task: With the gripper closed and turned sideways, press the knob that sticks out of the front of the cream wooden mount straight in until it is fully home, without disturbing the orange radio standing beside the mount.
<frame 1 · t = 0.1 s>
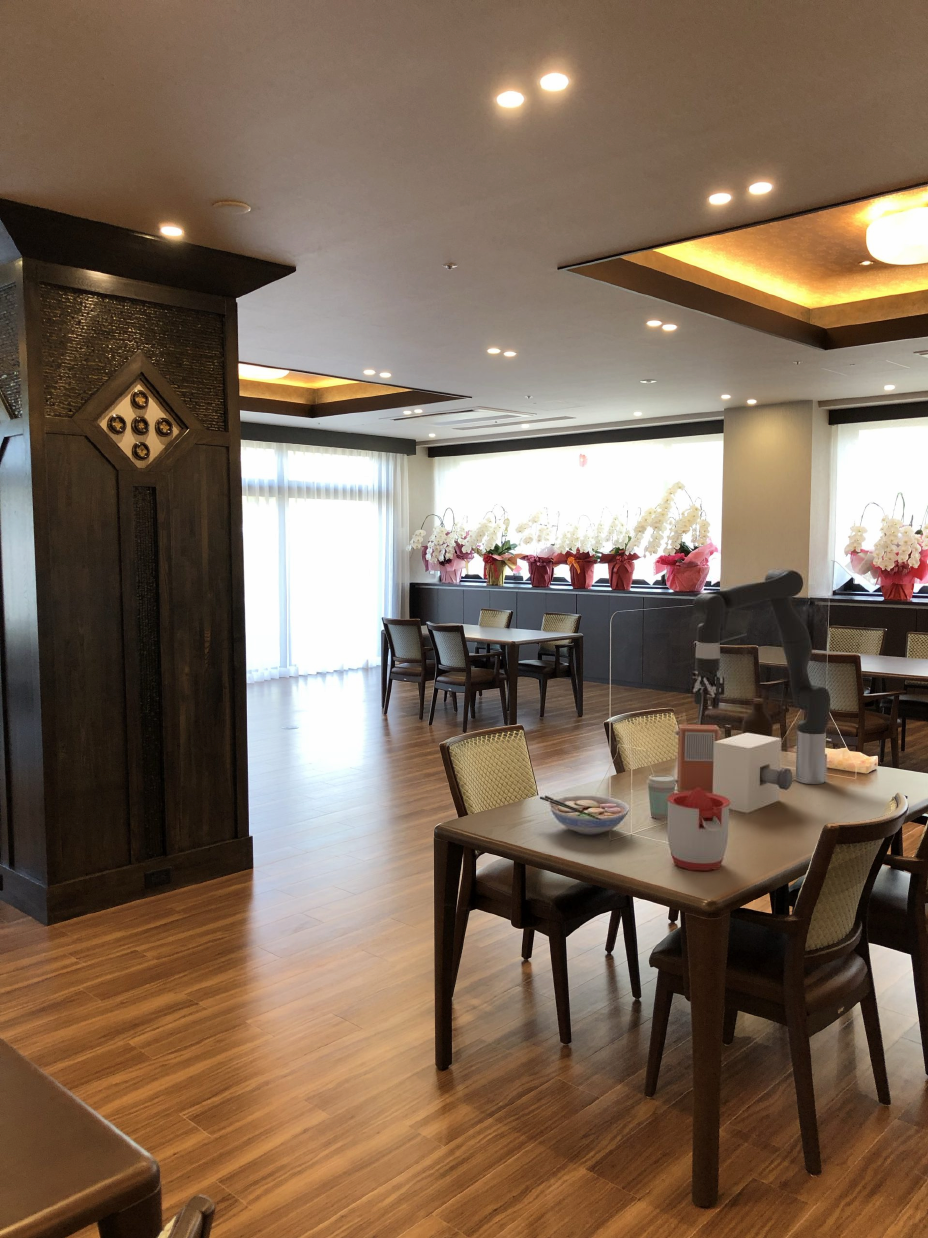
hand: (706, 706, 302), 29 cm above the table, tool pointing down, fingers open, 8 cm apart
olive oil: (756, 767, 343), on the table
ramen bowl: (588, 832, 267), on the table
orange radio: (697, 790, 311), on the table
citrus juicer: (698, 866, 240), on the table
knob: (773, 776, 289), point 10 cm above the table, slide at 4.0 cm
knob mount: (746, 802, 297), on the table
coffee cup: (660, 817, 281), on the table
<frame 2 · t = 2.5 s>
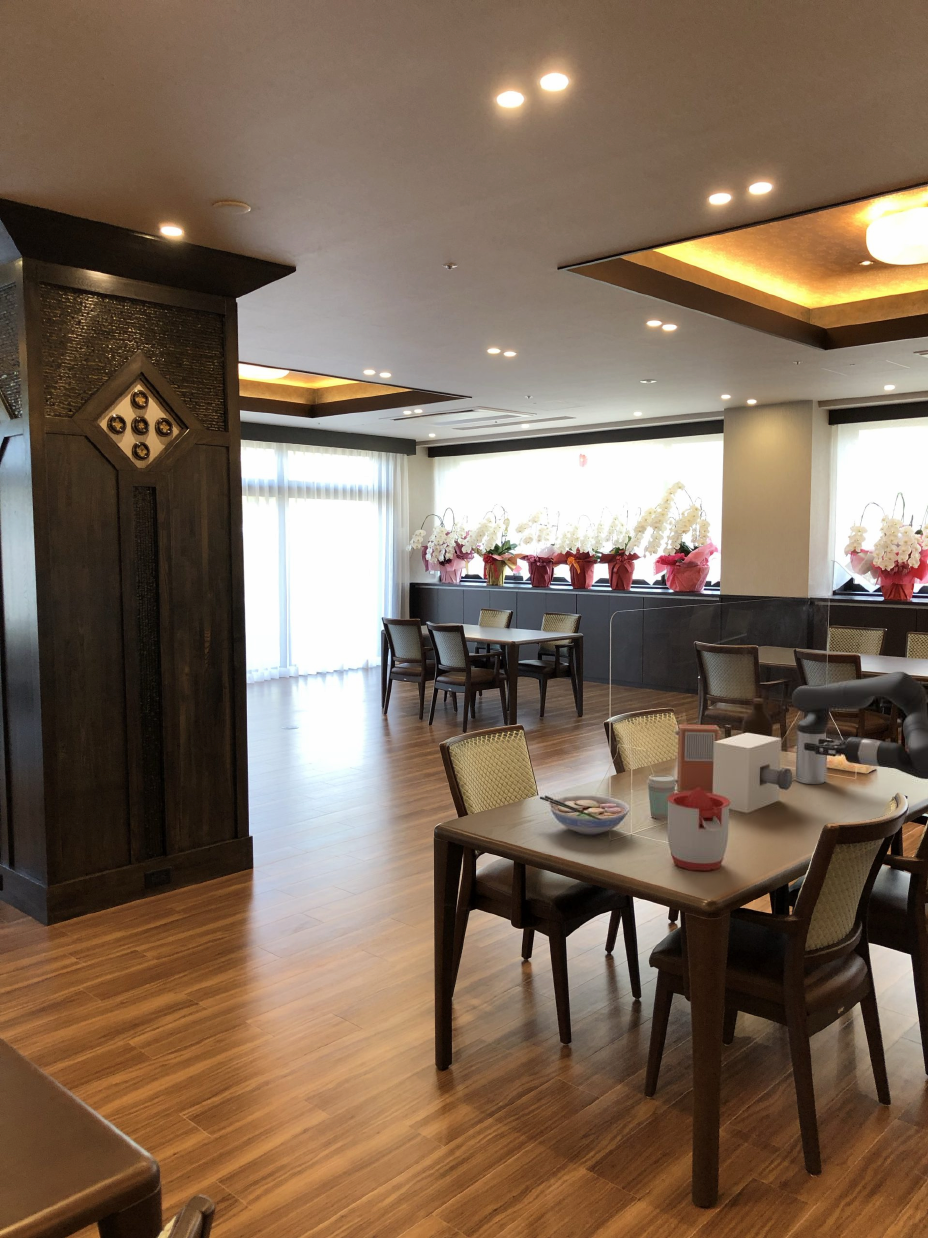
hand: (811, 744, 279), 22 cm above the table, tool horizontal, fingers open, 8 cm apart
nothing on the table moved.
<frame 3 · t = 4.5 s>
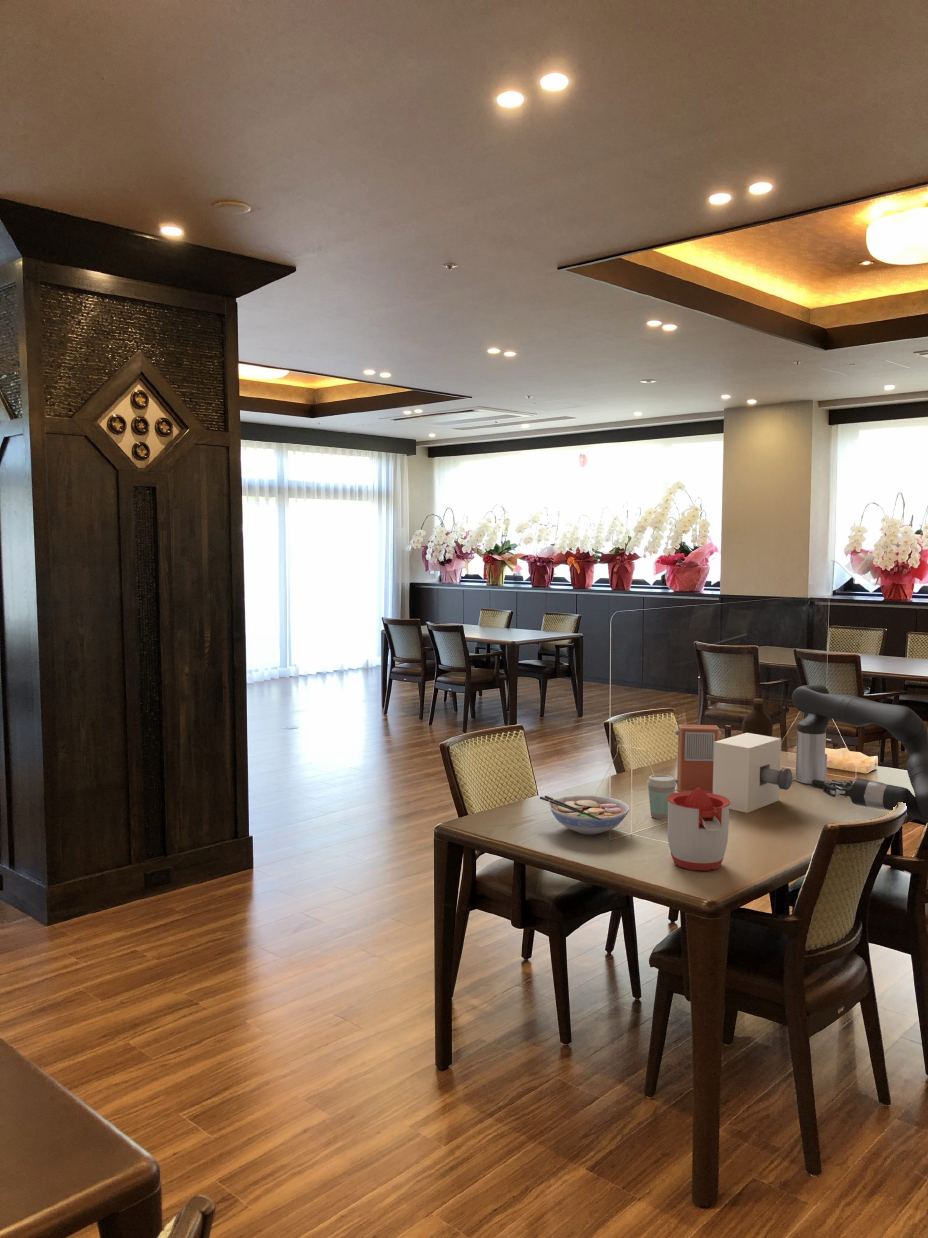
hand: (813, 783, 280), 11 cm above the table, tool horizontal, fingers closed
nothing on the table moved.
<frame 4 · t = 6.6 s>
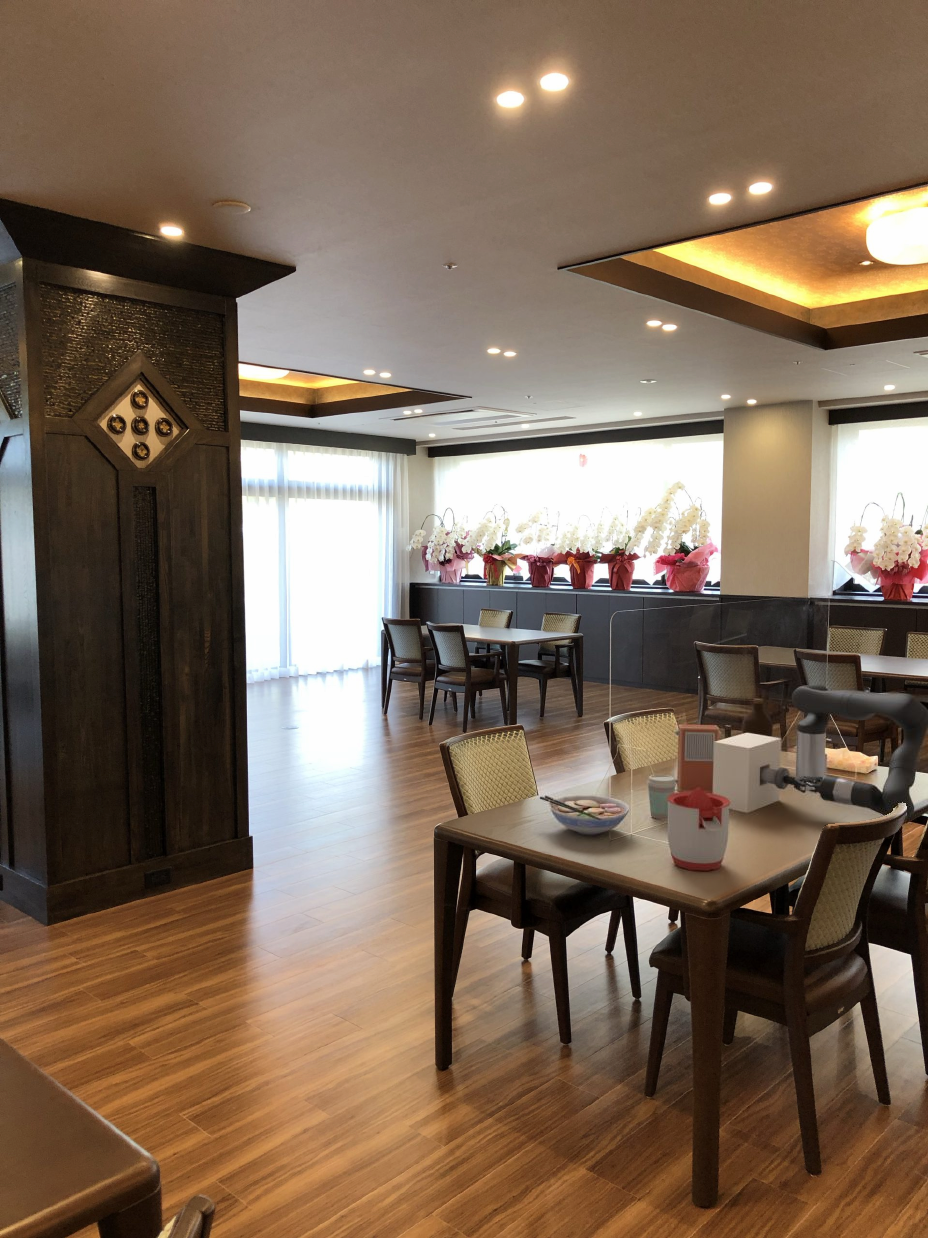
hand: (784, 779, 287), 10 cm above the table, tool horizontal, fingers closed
knob: (770, 776, 290), point 10 cm above the table, slide at 3.0 cm, touching gripper
everything else where it was.
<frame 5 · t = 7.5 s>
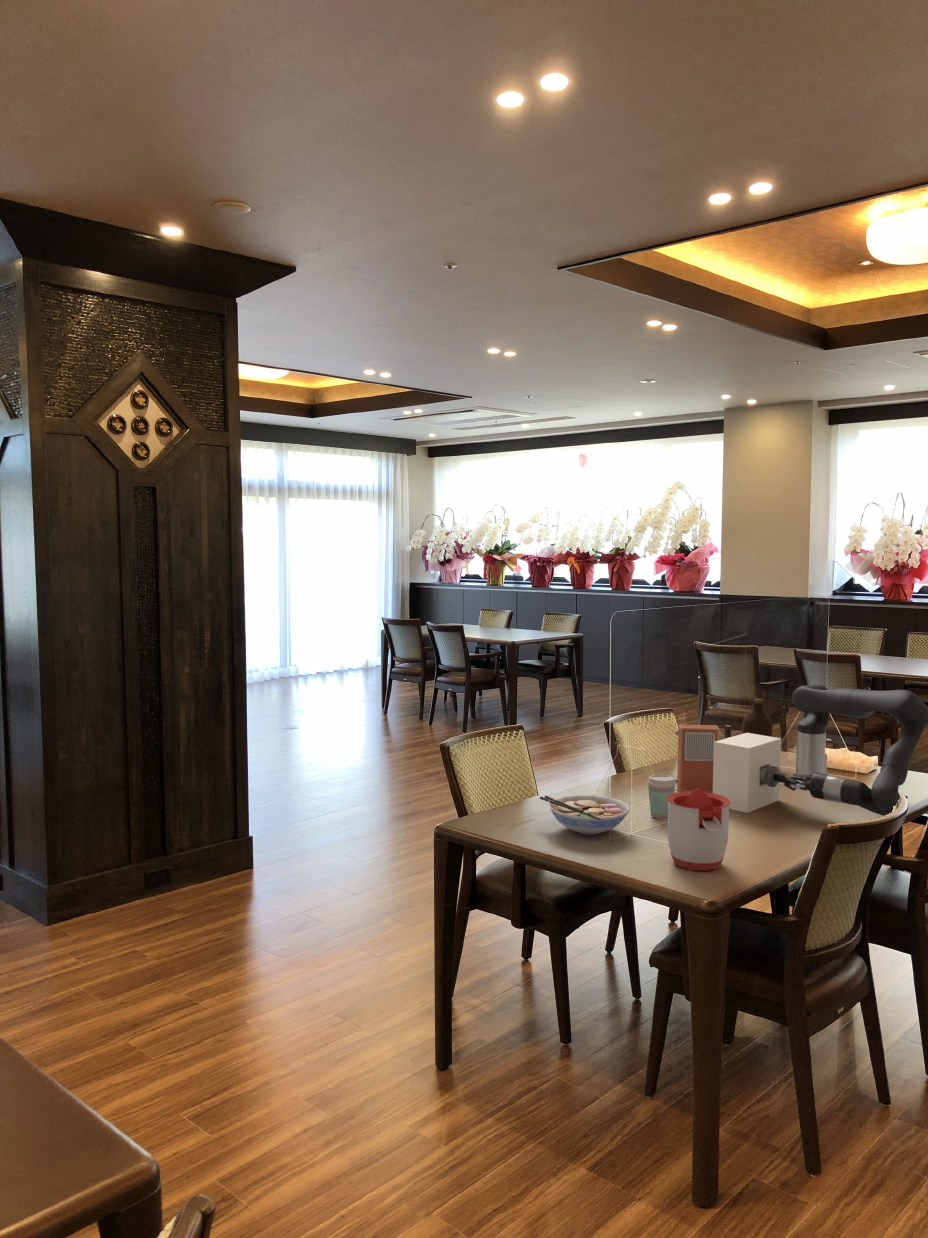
hand: (775, 777, 289), 10 cm above the table, tool horizontal, fingers closed
knob: (761, 774, 292), point 10 cm above the table, slide at -0.1 cm, touching gripper
everything else where it was.
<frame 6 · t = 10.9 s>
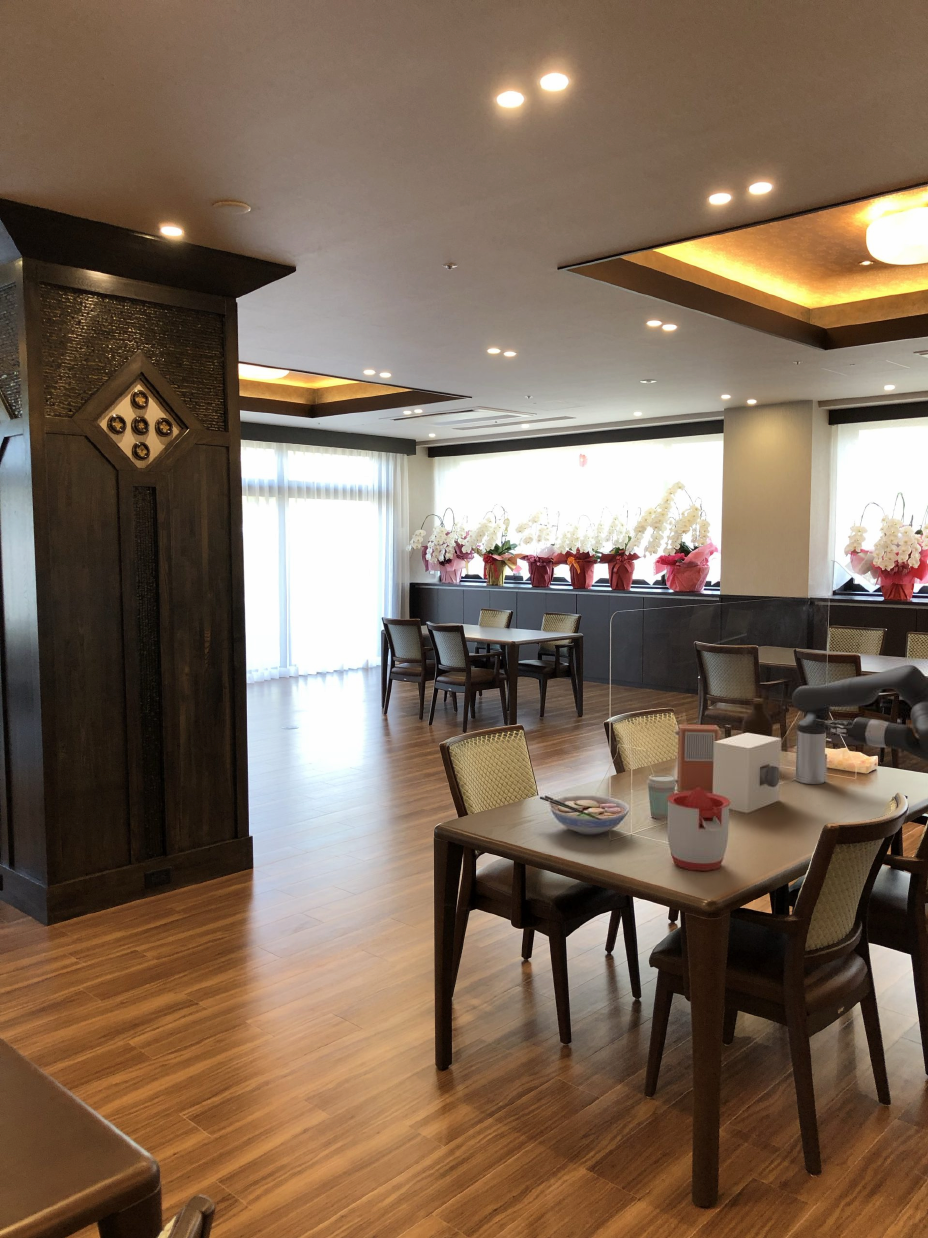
hand: (814, 723, 279), 29 cm above the table, tool horizontal, fingers closed
knob: (761, 774, 292), point 10 cm above the table, slide at -0.1 cm
everything else where it was.
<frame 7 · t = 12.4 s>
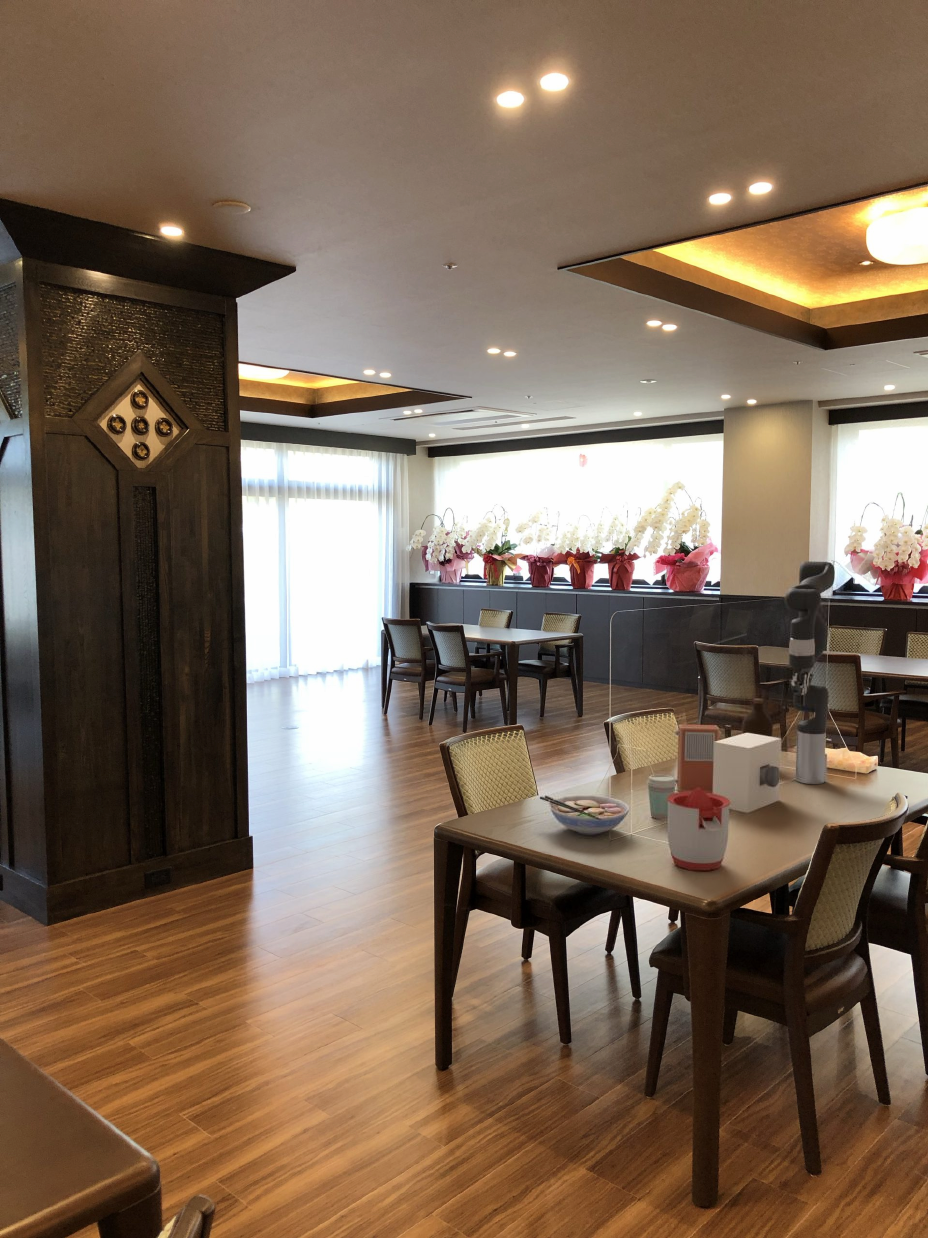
hand: (800, 705, 298), 30 cm above the table, tool pointing down, fingers closed
nothing on the table moved.
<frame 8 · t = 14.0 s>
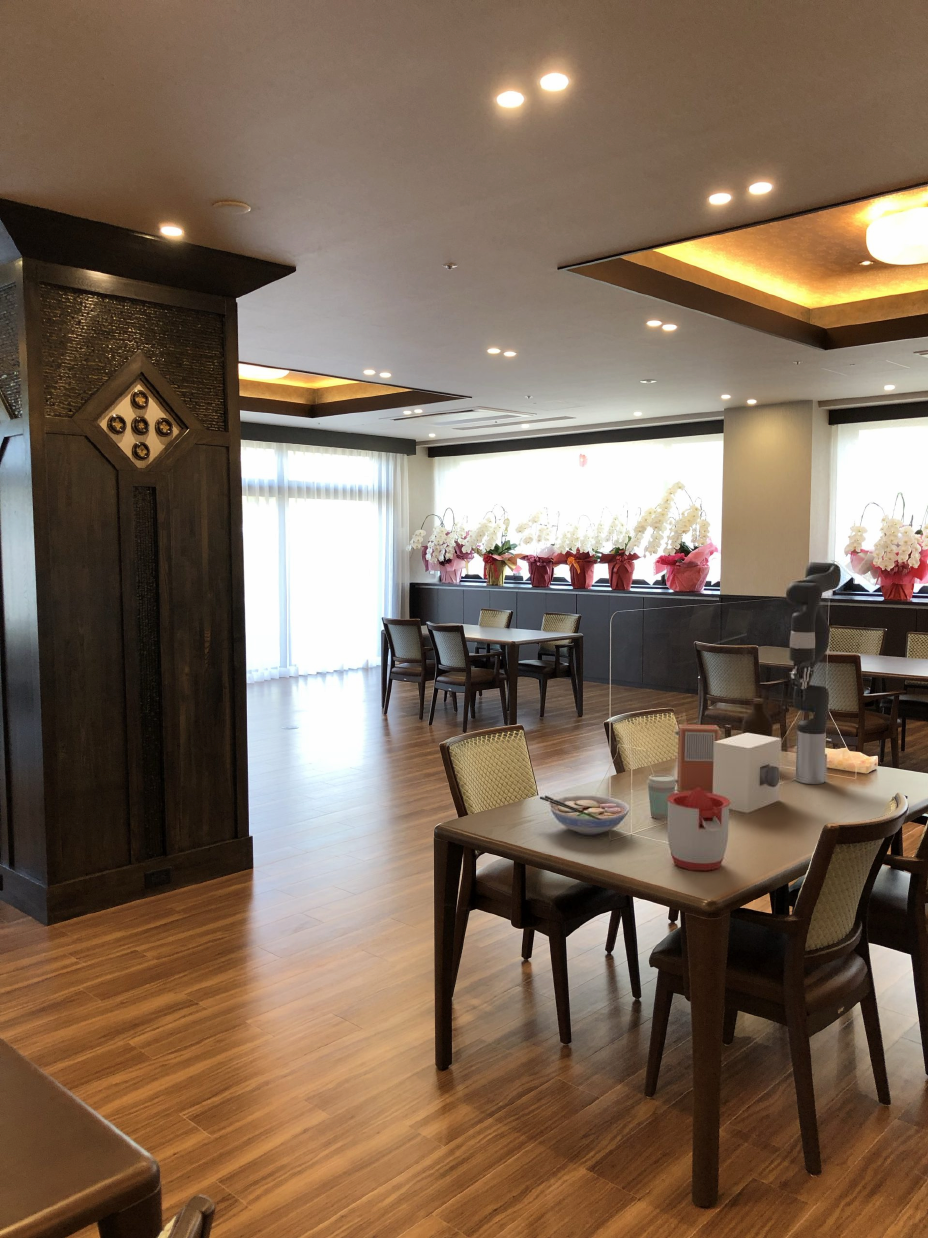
hand: (800, 700, 298), 32 cm above the table, tool pointing down, fingers closed
nothing on the table moved.
at the end: knob slide at -0.1 cm; orange radio moved 0.2 cm from its start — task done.
